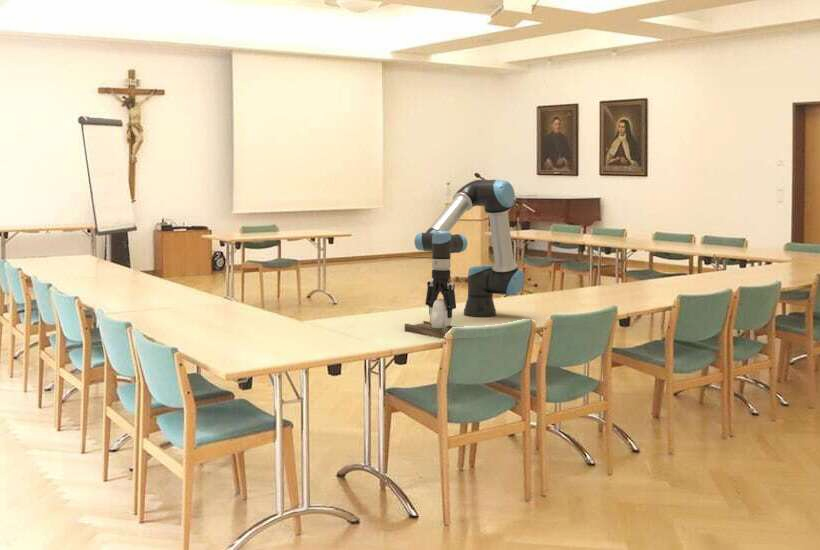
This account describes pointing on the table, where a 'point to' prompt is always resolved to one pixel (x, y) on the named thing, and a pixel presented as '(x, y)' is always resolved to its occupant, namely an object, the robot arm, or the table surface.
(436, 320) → the figurine
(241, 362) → the table surface
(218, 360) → the table surface
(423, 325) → the flange rail
